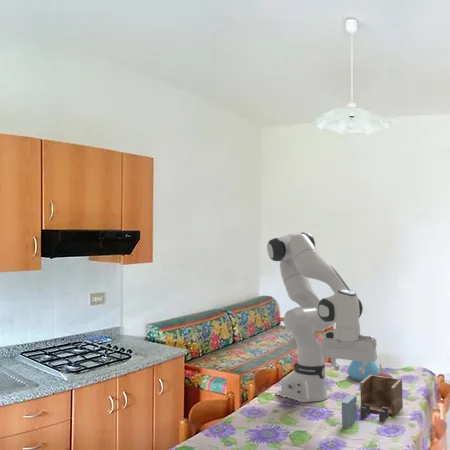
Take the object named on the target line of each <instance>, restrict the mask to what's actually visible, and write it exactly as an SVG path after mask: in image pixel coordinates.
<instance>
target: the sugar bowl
mask: <svg viewBox="0 0 450 450" xmlns="http://www.w3.org/2000/svg"><path fill="white" fill-rule="evenodd" d="M362 366H363V364H362V361H354V360H351V362H350V364H349V365H348V369H347V370H348V371H347V374H348V375H349V377H350V379H352V380H354V381H357V382H362V381H363V380H364V379H365V378H367V377H368V376H369V375H376V374H379V373H381V371H380V367H379V365H378V364H377V362H376V361H375V362H373V363H371V362H367V365H366V367H365V368H364V374H361V373H359V368H362Z"/></svg>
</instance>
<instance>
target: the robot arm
mask: <svg viewBox="0 0 450 450" xmlns="http://www.w3.org/2000/svg"><path fill="white" fill-rule="evenodd" d="M266 250H267V254H268V257H269V258H270V259H271V260H272V261H274V262H279V269H280V274H281V278H282V282H283V284H284V287H285V291H286V292H287V295H288V297H289V299H290V300H291V301H292V302H294V303H296V304H298V307H294V308H291V309H289V310H287V311H286V312H285V313H284V317H283V324H284V326H285V329H286V330H287V331H288V332H290V334H291V335H292V336H293V337H294V340H295V343H296V346H297V361H296V362H294V364H293V365H292V368H293V369H294V370H293V371H292V372H291V373H289V374H288V375H287V376H285V377H284V378H283V379H282V381H281V386H280V388H278V389H277V390H276V392H275V394H276V393H277V394H279V395H282V396H285V397H288V398H287V399H289V398H291V399H290V400H292V399H294V400H293V401H296V400H297V402H300V403H309V402H322V401H324V400H327V399H328V398H329V394H328V391H327V386H326V379H325V378H326V364H325V358H328V359H329V358H330V362H331V363H332V365H333V370H334V371H340V364H338V363H337V361H336V360H338V359H339V360H347V361H352V360H354V361H362V364H363V366H362V368H359V373H361V374H364V368H365V367H366V365H367V362H371V363H373V362H376V361H377V360H378V355H377V339H376V338H375V337H373V336H371V335H364V334H361V325H360V317H361V316H362V313H363V310H364V307H363V303H362V302H361V299H359V297H358V294H357V293H356V292H355V291H354V290H351V289H350V287H349V286H348V285H347V283H346V282H345V281H344V279H343V278H342V276H341V275H340V274H339V273H338V271H337V270H336V269H335V268H334V267H333V266H332V265H330V264H329V263H328V262H327V261H326V260H324V258H323V257H322V256H321V254H320V253H319V251H318V249H317V248H316V241H315V238H314V237H313V235H312V234H311V233H310V232H300V233H299V232H297V233H291V234H287V235H283V236H279V237H274V238H272V239H270V240H269V241H268V242H267V246H266ZM310 279H313V280H315V281H320V282H322V283H325V284H326V285H328V286H329V288H330V289H331V290H332V292H333V293H334V294H333V295H332V294H331V296H327V297H324V298H322V299H321V298H320V297H319V296H318V295H317V294H316V292H315V290H314V289H313V287H312V284H311V282H310ZM334 325H335V328H332V329H329V328H331V327H333V326H334ZM326 329H329V330H327V331H324V330H326ZM317 331H324V332H323V334H322V336H323V339H322V340H321V341H322V342H320V341H318V340H317V339H316V336H315V332H317ZM285 397H284V398H285Z"/></svg>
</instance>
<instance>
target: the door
mask: <svg viewBox="0 0 450 450" xmlns="http://www.w3.org/2000/svg"><path fill="white" fill-rule="evenodd" d="M359 405H360V404H359V403H358V401H357V395H356V394H355V395H354V394H350V395H349V396H347V397H345V399H344V400H343V401H341V427H342V428H344V429H345V428H346V429H349V428H351V426H352V425H353V424H354V423H355V422H356V421H357V420H358V417H357V416H358V414H357V413H358V412H357V411H358V408H359Z"/></svg>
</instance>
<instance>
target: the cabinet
mask: <svg viewBox="0 0 450 450" xmlns="http://www.w3.org/2000/svg"><path fill="white" fill-rule="evenodd" d="M359 382H360V389H359V390H360V417H361V418H367V417H368V416H367V415H370V414H371V413H375V414H378V419H379V422H380V421H381V422H385V421H386V419H388V418H389V416H391V417H393V418H395V417H396V416H397V415H398V413H399V412H400V411H401V410H402V408H403V379H402V378H395V377H393V378H390V377H383V376H376V375H369V376H368V377H367V378H365V379H364V380H363V381H359Z"/></svg>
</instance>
